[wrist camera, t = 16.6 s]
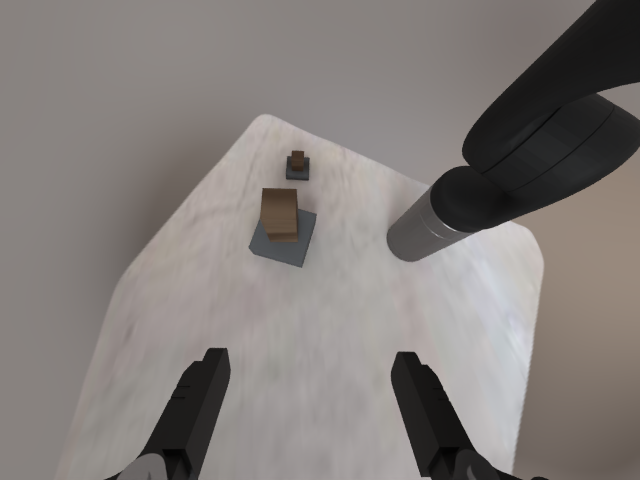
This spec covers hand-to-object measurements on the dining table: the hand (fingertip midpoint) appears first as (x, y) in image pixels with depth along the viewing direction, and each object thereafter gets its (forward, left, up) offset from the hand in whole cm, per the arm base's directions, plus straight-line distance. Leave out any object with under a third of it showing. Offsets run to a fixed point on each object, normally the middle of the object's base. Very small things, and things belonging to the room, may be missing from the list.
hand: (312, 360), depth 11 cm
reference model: (-14, -31, -33) cm, 47 cm away
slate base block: (-5, -17, -33) cm, 38 cm away
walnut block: (-5, -17, -28) cm, 33 cm away
